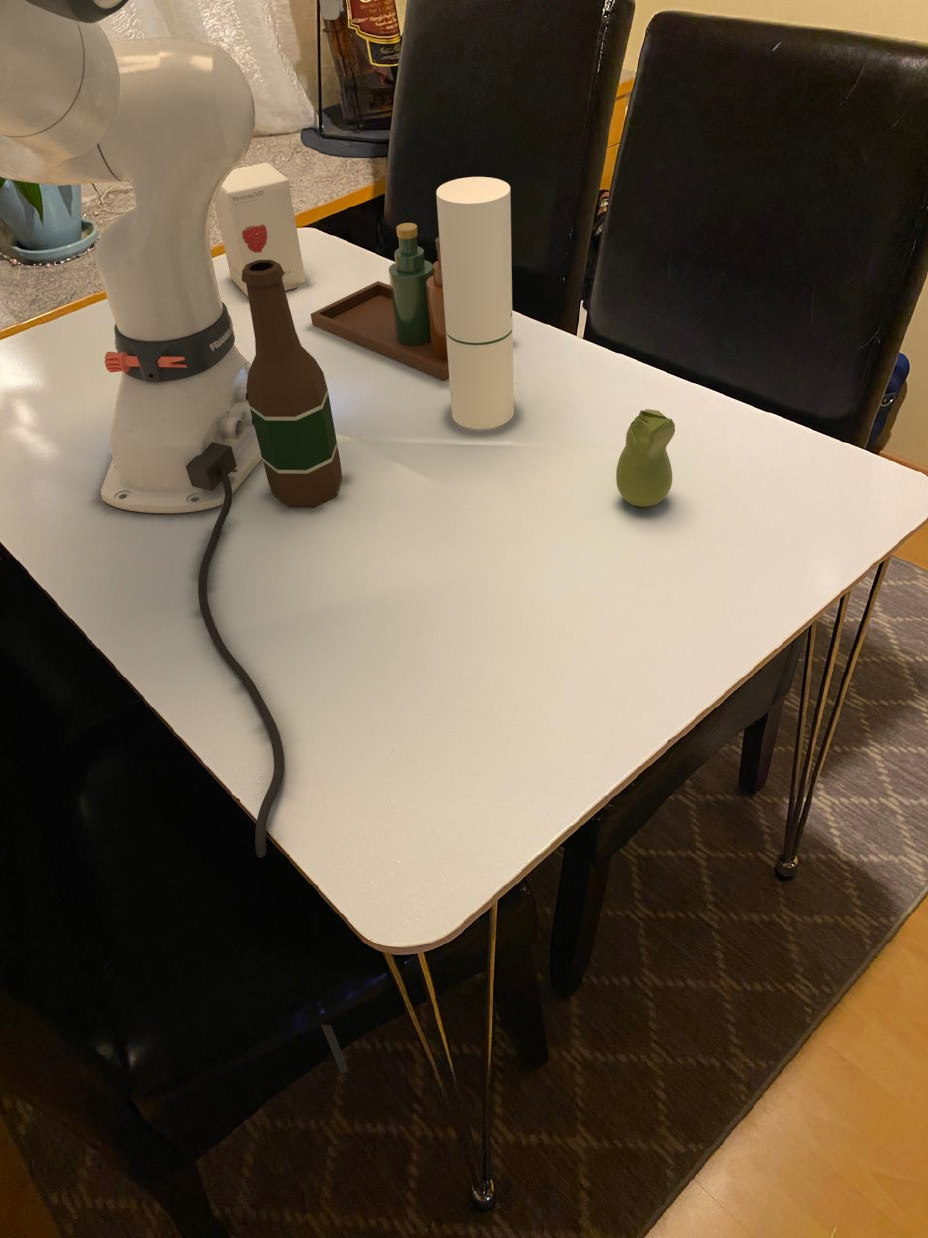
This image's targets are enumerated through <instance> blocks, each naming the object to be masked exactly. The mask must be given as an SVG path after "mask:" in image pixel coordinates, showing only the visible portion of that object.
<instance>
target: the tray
mask: <svg viewBox="0 0 928 1238" xmlns="http://www.w3.org/2000/svg"><path fill="white" fill-rule="evenodd" d="M310 320H311V324H312V326H314V327H316V328H319V329H321V330H324V331H325V332H328V333H331V334H333V335H335V336H337V337H340V338H342V339H345V340H347V341H349V342H351V343H354V344H356V345H358V346H361V347H364V348H366V349H368V350H370V351H372V352H375V353H377V354H379V355H382V356H384V357H387V358H388V359H391V360H393V361H396V362H397V363H400V364H403V365H405V366H408V367H409V368H412V369H415V370H417V371H419V372H422V373H424V374H426V375H428V376H431V377H433V378H435V379H437V380H441V381H442V382H445V381H446V380H449V367H448V361H447V360H441V359H438V358H436V357H435V356H434V355H433V354H432V348H431V342H430V343H427V344H423V345H414V346H413V345H405V344H402V343H400V342H399V341H398V340H397V338H396V332H395V323H394V314H393V305H392V296H391V287H390V284H387V283H384V282H382V281H378V280H377V281H375V282H373V283H371V284H369V285H367V286H365V287H363V288H361V289H359V290H357V291H355V292H353V293H350V294H348V295H346V296H344V297H342V298H340V299H338V300H337V301H334V302H331V303H330V304H328V305H326V306H324V307H322V308H319V309H318V310H316V311H313V312H312V313H310Z"/></svg>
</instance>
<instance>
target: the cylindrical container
mask: <svg viewBox="0 0 928 1238" xmlns="http://www.w3.org/2000/svg"><path fill="white" fill-rule="evenodd" d="M435 192H436V193H435V195H436V209H437V223H438V237H439V239H440V253H441V267H442V281H443V296H444V310H445V324H446V338H447V353H448V367H449V378H448V380H449V391H450V392H449V393H450V394H449V395H450V407H451V408H450V409H451V417H452V419H453V420H454V422H455V423H457V425H460V426H462V427H464V428H467V429H473V430H491V429H494V428H498V427H500V426H503V425H505V424H506V423H508V422H509V421H510V420H511V419H512V418H513V416H514V414H515V407H514V406H515V405H514V404H515V403H514V402H515V401H514V399H515V398H514V343H513V341H514V339H513V338H514V336H513V331H514V330H513V280H512V279H513V275H512V274H513V273H512V271H513V270H512V265H513V264H512V213H511V212H512V207H511V206H512V203H511V202H512V201H511V186H510V184H509V183H508V182H506V181H504V180H503V179H499V178H495V177H487V176H469V177H462V178H456V179H453V180H449V181H447V182H444V183H442V184H441V185H439V186H438V188H437V189H436V190H435Z"/></svg>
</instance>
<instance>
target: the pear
mask: <svg viewBox="0 0 928 1238" xmlns="http://www.w3.org/2000/svg"><path fill="white" fill-rule="evenodd" d="M675 432H676V424H675V423H674V421H673V419H672V418H669V417H667V416H665V415H664V414H663V413H662V412H661V411H660V410H656V409H650V408H646V409H644V410H642V409H641V410H640V411H639V413H638V415H637V416H636V417H634V420H633V421H632V422H631V423H630V425H629V427H628V428H627V431H626V435H625V445H624V447H623V449H622V451H621V453H620V455H619V458H618V462H617V465H616V473H615V480H616V481H615V482H616V486H617V490H618V492H619V494H620V495H621V497H622V498H623V499H624V500H625V501H626V502H627V503H629V504H630V505H633V506H635V507H639V508H648V507H649V508H650V507H653V506H656V505H658V504H659V503H661V502H662V501H663V500H664V499H666V497H667V496H668V494H669V493H670V490H671V488H672V484H673V469H672V465H671V460H670V458H669V457H670V456H669V454H668V452H667V447H668V445H669V443H670V442H671V441H672V439H673V437H674V435H675V434H676V433H675Z"/></svg>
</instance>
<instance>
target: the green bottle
mask: <svg viewBox="0 0 928 1238" xmlns="http://www.w3.org/2000/svg"><path fill="white" fill-rule="evenodd" d="M418 231H419V230H418V225H417V224H416V223H414V222H405V223H400V224H398V225H397V226H396V236H397V238H398V245H399V248H397V249H395V251H394V261H395V262H394V263H392V264H391V265H390V266H389V267H388V277H389V285H390V287H391V296H392V305H393V314H394V323H395V332H396V338H397V340H398V341H399V342H400V343H402V344H405V345H413V346H414V345H423V344H427V343H430V342H431V336H430V324H429V312H428V300H427V288H426V281H427V279H428V278H429V277H431V276H433V264H432V263H431V261H428V260H425V250H424V249H423V247H421V246H419V245H418V234H419V232H418Z"/></svg>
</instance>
